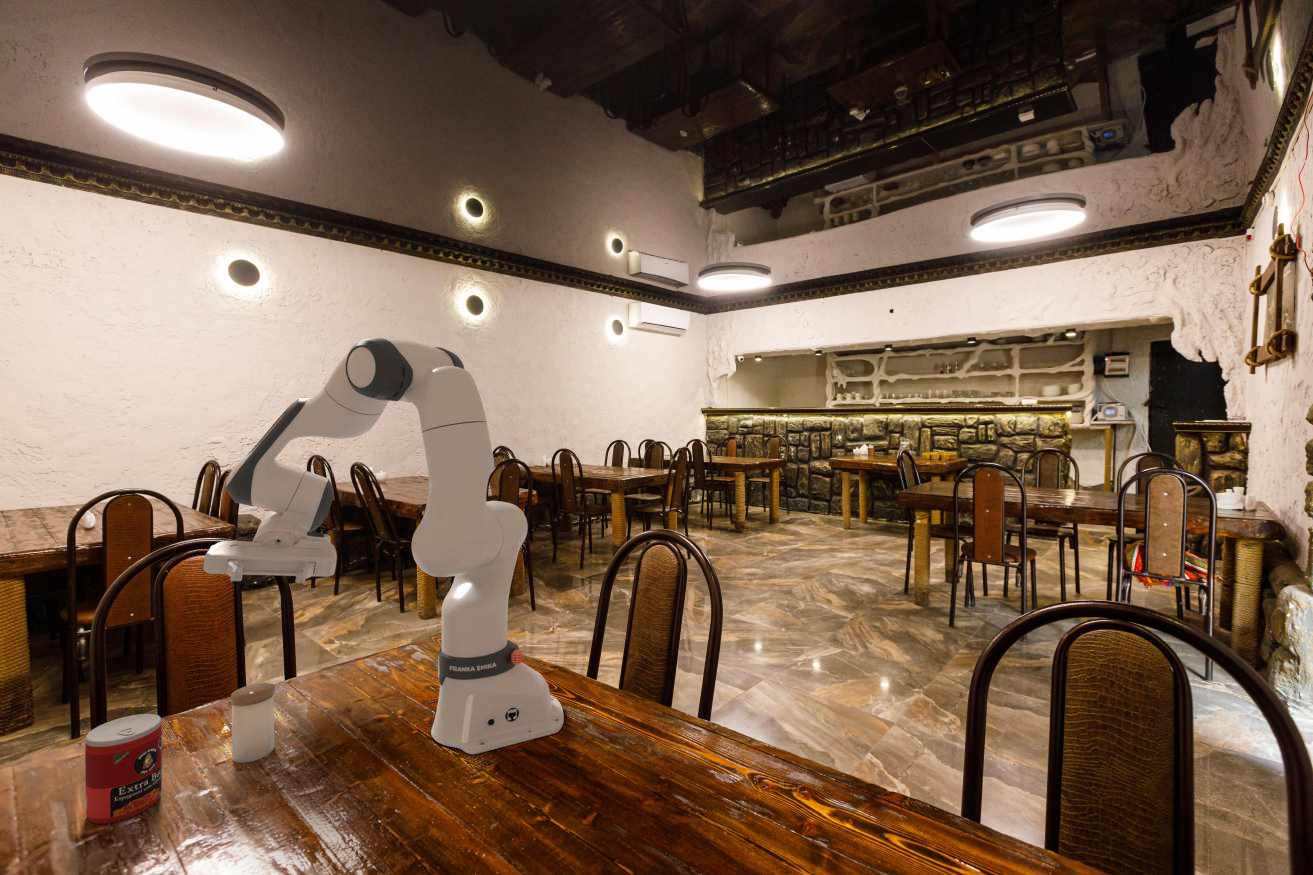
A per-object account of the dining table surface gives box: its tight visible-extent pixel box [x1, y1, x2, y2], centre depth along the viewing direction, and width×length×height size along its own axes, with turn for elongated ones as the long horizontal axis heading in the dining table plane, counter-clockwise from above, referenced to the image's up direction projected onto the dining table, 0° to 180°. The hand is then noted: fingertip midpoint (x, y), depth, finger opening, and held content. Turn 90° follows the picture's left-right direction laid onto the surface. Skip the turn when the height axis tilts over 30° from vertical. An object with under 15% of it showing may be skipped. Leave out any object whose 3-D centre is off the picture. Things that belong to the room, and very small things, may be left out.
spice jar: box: [230, 682, 276, 764], centre depth 92 cm, size 6×6×10 cm
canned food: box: [84, 713, 163, 824], centre depth 78 cm, size 8×8×11 cm
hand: (269, 577), depth 99 cm, fingers open, 8 cm apart
